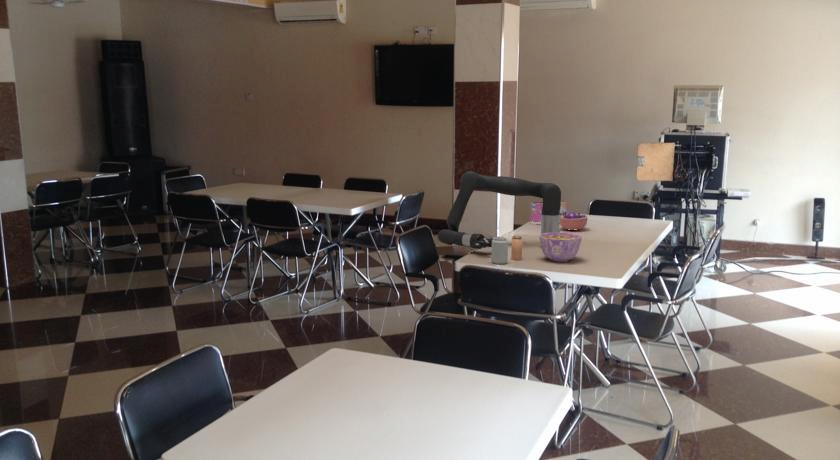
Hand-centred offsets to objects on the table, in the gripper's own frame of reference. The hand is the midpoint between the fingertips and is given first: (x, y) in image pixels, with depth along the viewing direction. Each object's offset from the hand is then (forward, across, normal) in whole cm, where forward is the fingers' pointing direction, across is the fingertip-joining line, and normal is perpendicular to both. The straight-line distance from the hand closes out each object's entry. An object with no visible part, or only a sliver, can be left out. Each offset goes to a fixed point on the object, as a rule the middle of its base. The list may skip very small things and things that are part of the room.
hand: (500, 244), depth 339 cm
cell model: (-9, +92, +6) cm, 93 cm away
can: (+7, -12, +6) cm, 16 cm away
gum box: (-33, +107, +7) cm, 112 cm away
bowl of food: (+26, +11, +6) cm, 29 cm away
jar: (+9, 0, +6) cm, 11 cm away
